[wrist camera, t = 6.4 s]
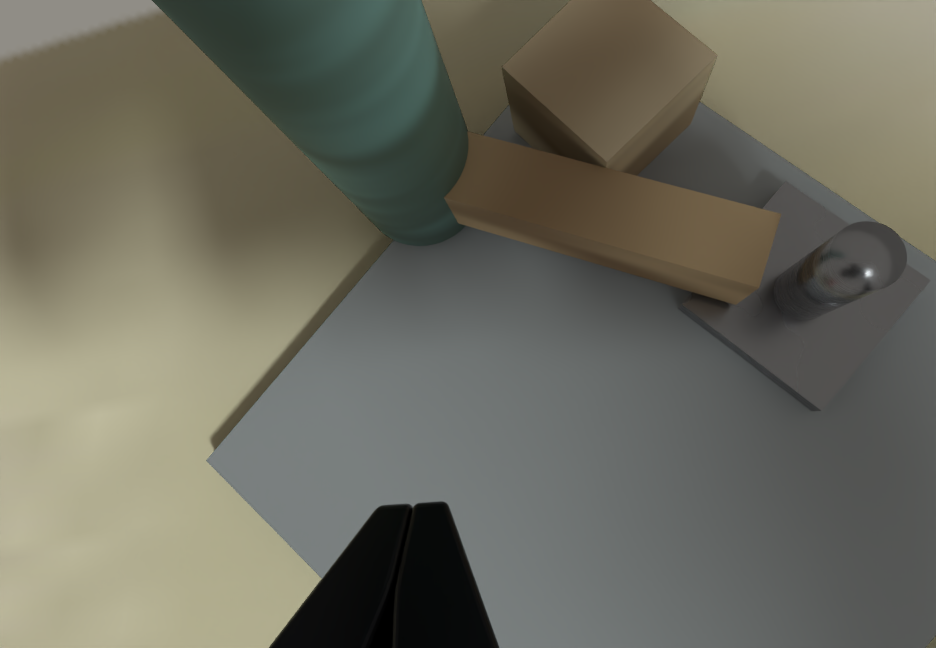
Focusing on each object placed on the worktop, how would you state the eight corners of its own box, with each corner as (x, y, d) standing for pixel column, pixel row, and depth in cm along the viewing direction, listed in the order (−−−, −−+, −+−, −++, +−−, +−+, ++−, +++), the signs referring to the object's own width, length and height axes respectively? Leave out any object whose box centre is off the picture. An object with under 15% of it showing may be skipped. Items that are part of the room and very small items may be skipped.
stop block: (690, 123, 16) (717, 55, 13) (600, 210, 16) (606, 162, 13) (600, 46, 16) (607, -36, 13) (514, 130, 16) (501, 67, 14)
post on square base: (916, 286, 14) (1034, 238, 11) (811, 411, 14) (894, 407, 11) (777, 190, 15) (843, 115, 12) (677, 308, 15) (711, 271, 11)
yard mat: (1113, 396, 14) (1134, 395, 13) (677, 925, 14) (680, 943, 13) (580, 32, 17) (580, 20, 17) (216, 459, 17) (206, 460, 16)
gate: (756, 217, 15) (1251, -337, 4) (718, 341, 15) (1137, 104, 4) (389, 120, 17) (50, -447, 6) (349, 228, 17) (-87, -153, 6)
